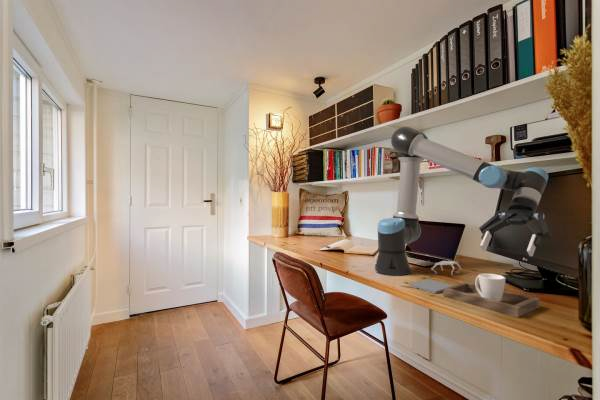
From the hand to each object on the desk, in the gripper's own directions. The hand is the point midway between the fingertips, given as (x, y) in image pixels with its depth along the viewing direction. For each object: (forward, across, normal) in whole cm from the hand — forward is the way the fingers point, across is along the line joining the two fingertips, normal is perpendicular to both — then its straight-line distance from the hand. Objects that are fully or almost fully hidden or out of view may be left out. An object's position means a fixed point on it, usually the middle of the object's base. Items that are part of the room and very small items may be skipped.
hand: (504, 250), depth 94 cm
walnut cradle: (+18, 0, -3) cm, 18 cm away
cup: (+18, 0, -3) cm, 18 cm away
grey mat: (+18, +19, -2) cm, 27 cm away
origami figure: (+3, +28, -18) cm, 33 cm away
